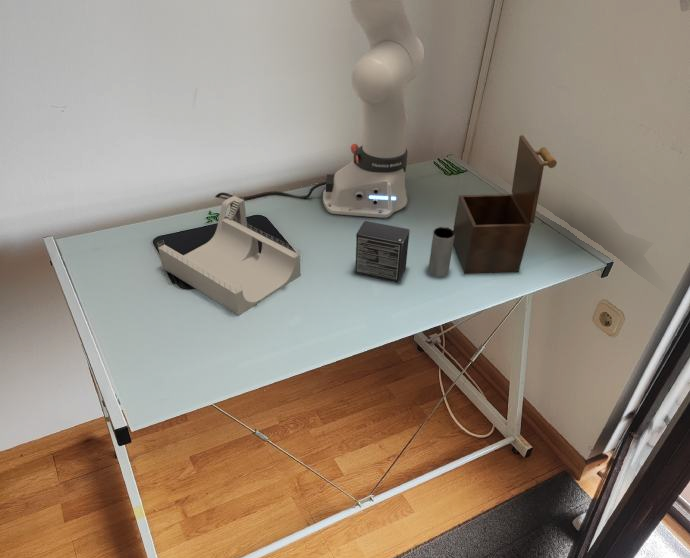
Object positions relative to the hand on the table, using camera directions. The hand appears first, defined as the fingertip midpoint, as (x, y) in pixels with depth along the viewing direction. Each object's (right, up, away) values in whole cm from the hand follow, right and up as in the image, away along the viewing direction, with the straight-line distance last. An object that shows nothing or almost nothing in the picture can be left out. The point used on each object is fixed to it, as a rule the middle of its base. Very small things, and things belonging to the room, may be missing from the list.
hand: (686, 4), depth 102 cm
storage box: (-27, -39, +35) cm, 59 cm away
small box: (-52, -43, +30) cm, 74 cm away
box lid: (-21, -24, +22) cm, 39 cm away
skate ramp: (-84, -42, +30) cm, 99 cm away
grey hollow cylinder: (-39, -43, +30) cm, 65 cm away
